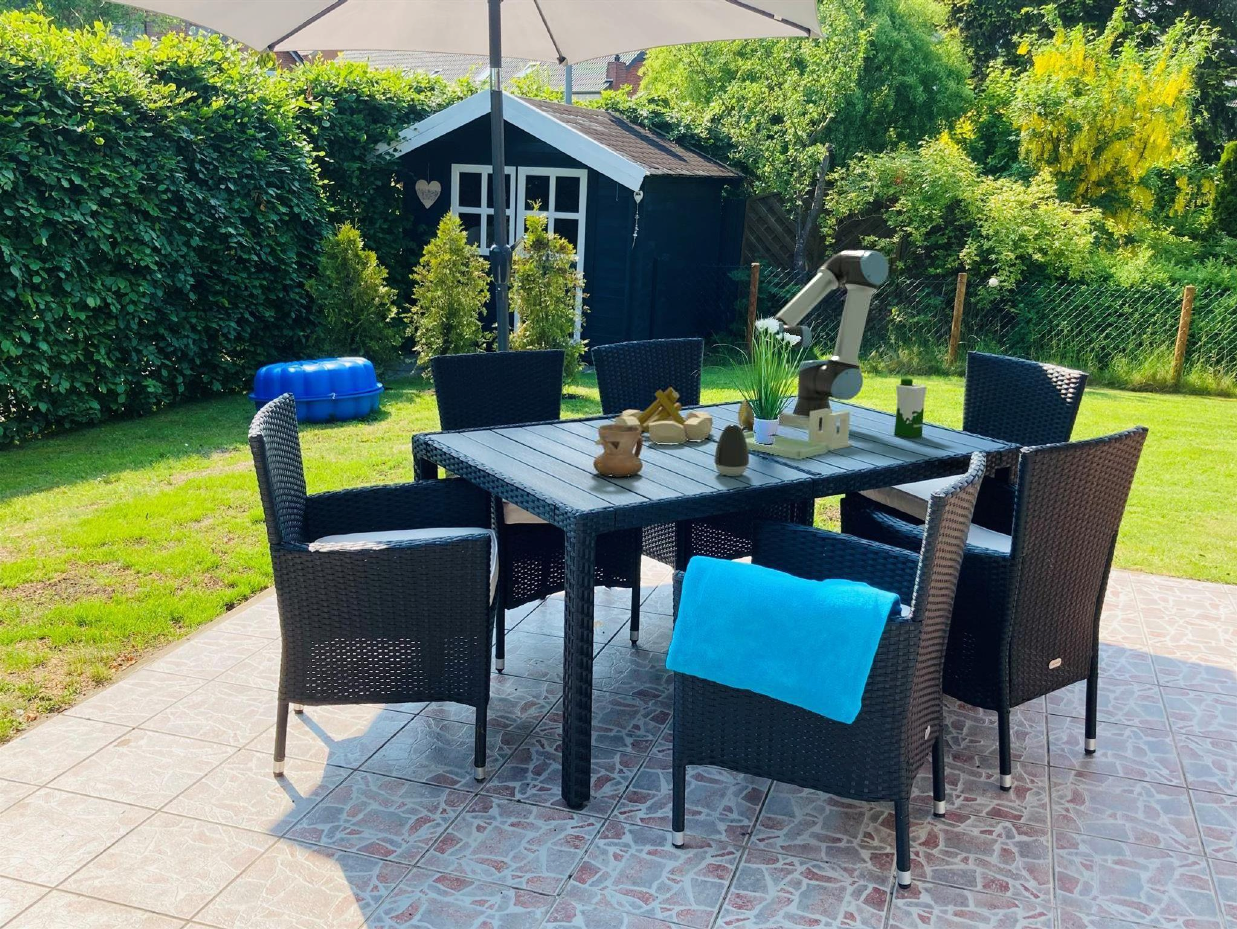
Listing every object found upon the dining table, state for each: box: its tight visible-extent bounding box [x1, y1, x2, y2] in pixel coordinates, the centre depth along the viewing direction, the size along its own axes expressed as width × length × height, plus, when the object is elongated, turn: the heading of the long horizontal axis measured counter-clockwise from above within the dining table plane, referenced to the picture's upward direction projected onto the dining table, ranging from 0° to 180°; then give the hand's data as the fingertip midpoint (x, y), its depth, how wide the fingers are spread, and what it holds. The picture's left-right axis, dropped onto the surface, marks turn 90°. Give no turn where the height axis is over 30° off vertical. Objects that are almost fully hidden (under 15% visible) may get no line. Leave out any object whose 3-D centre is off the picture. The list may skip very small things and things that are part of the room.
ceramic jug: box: [593, 423, 644, 477], centre depth 318 cm, size 18×14×14 cm
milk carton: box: [893, 377, 928, 439], centre depth 379 cm, size 9×9×20 cm
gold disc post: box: [737, 399, 810, 432], centre depth 378 cm, size 28×12×12 cm, turn 46°
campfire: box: [613, 386, 714, 444], centre depth 375 cm, size 35×34×17 cm
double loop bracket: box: [808, 408, 853, 451], centre depth 363 cm, size 11×12×12 cm
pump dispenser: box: [713, 423, 750, 477], centre depth 319 cm, size 10×10×15 cm
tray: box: [743, 431, 829, 460], centre depth 357 cm, size 16×31×2 cm, turn 45°
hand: (768, 432), depth 381 cm, fingers closed on gold disc post, 3 cm apart
